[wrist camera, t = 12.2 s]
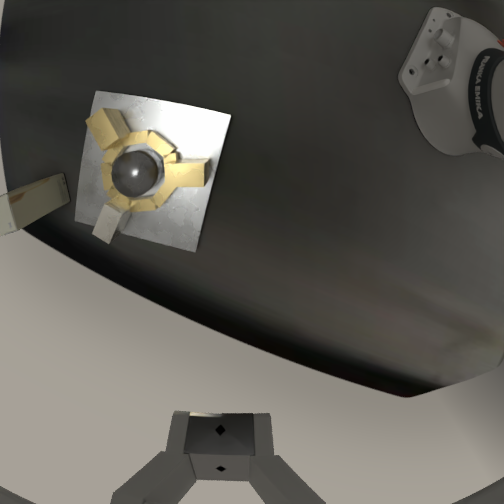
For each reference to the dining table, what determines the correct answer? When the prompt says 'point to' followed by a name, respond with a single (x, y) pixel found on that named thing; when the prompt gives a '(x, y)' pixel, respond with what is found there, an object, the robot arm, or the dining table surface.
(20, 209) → the skincare box
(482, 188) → the dining table surface
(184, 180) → the ring nut
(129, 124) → the housing
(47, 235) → the dining table surface
